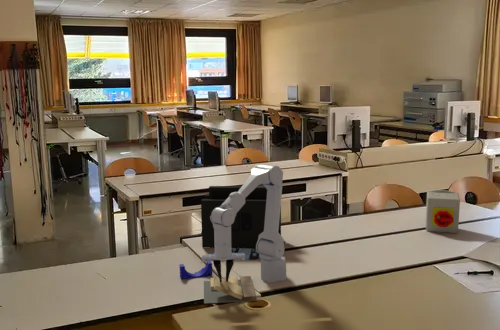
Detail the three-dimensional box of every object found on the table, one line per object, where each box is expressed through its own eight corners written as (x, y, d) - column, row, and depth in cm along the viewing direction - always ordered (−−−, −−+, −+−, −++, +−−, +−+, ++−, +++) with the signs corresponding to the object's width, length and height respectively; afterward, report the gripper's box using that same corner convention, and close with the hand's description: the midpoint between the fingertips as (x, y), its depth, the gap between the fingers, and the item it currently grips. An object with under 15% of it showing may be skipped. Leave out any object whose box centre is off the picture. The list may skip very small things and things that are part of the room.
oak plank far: (237, 280, 199) (237, 276, 199) (238, 288, 190) (238, 285, 190) (210, 281, 198) (210, 277, 198) (210, 290, 190) (210, 286, 189)
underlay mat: (251, 281, 200) (251, 279, 200) (257, 302, 180) (257, 300, 180) (203, 283, 198) (203, 281, 198) (204, 305, 179) (203, 303, 178)
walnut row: (250, 279, 199) (250, 275, 199) (255, 300, 180) (255, 296, 180) (240, 280, 199) (239, 276, 199) (244, 300, 180) (243, 296, 180)
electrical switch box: (425, 238, 257) (427, 199, 251) (425, 226, 270) (427, 189, 264) (458, 240, 252) (461, 201, 246) (456, 228, 266) (458, 190, 260)
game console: (281, 239, 252) (280, 183, 247) (278, 261, 222) (277, 198, 218) (207, 238, 255) (206, 183, 251) (195, 259, 225) (193, 197, 221)
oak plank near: (239, 289, 188) (241, 286, 188) (241, 299, 180) (243, 296, 180) (213, 279, 187) (215, 276, 187) (214, 289, 179) (215, 285, 178)
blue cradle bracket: (209, 274, 208) (209, 259, 207) (212, 278, 204) (212, 263, 203) (179, 278, 205) (178, 263, 204) (181, 282, 201) (180, 266, 200)
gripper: (201, 247, 176) (202, 286, 178) (245, 245, 177) (245, 284, 180) (201, 240, 183) (202, 278, 185) (243, 239, 184) (244, 276, 186)
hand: (223, 280), depth 183 cm, fingers closed
